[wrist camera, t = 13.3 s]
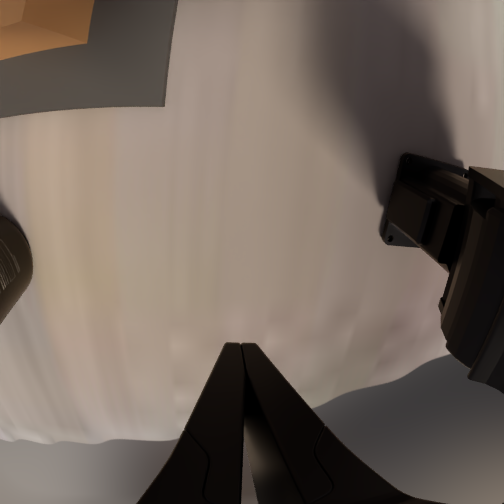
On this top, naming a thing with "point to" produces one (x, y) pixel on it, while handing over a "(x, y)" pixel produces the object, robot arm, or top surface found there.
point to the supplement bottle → (13, 266)
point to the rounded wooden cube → (42, 25)
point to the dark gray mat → (97, 63)
